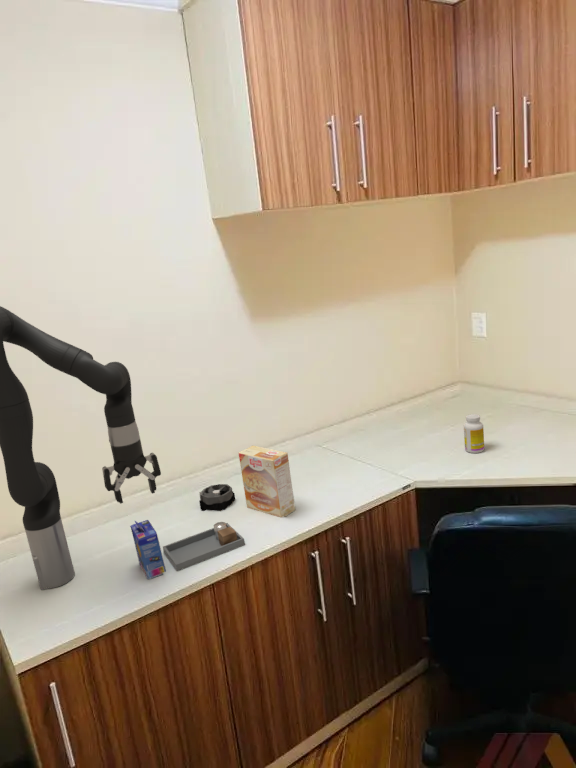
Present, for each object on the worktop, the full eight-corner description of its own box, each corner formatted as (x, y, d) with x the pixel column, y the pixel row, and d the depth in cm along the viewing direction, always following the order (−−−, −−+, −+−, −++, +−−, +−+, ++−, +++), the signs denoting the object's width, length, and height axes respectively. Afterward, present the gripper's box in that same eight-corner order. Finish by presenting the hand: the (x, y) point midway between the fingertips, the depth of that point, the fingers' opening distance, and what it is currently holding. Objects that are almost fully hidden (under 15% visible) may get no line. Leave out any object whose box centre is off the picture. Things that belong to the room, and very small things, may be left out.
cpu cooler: (236, 484, 194) (221, 498, 185) (239, 500, 195) (224, 514, 186) (210, 482, 198) (194, 496, 189) (212, 497, 199) (197, 512, 190)
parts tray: (177, 573, 156) (176, 564, 156) (164, 554, 166) (162, 546, 166) (245, 546, 165) (244, 538, 164) (228, 530, 175) (227, 522, 175)
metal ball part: (218, 541, 168) (216, 529, 167) (213, 537, 171) (211, 524, 170) (230, 537, 170) (227, 525, 169) (225, 532, 173) (223, 520, 172)
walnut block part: (225, 549, 164) (222, 536, 163) (219, 543, 167) (217, 531, 166) (238, 544, 166) (235, 531, 164) (232, 538, 169) (230, 526, 168)
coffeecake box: (246, 509, 187) (237, 452, 182) (261, 500, 192) (253, 444, 188) (281, 520, 178) (272, 460, 173) (296, 510, 183) (288, 451, 178)
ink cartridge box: (137, 564, 163) (127, 517, 159) (157, 557, 165) (147, 511, 162) (146, 580, 155) (136, 531, 151) (166, 573, 157) (157, 524, 153)
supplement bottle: (488, 449, 209) (487, 415, 205) (476, 455, 205) (474, 420, 202) (473, 445, 214) (471, 411, 211) (461, 450, 211) (459, 417, 207)
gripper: (100, 451, 144) (113, 511, 148) (156, 435, 150) (167, 493, 155) (93, 443, 151) (106, 501, 155) (147, 429, 157) (158, 484, 161)
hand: (137, 497), depth 155 cm, fingers open, 8 cm apart
